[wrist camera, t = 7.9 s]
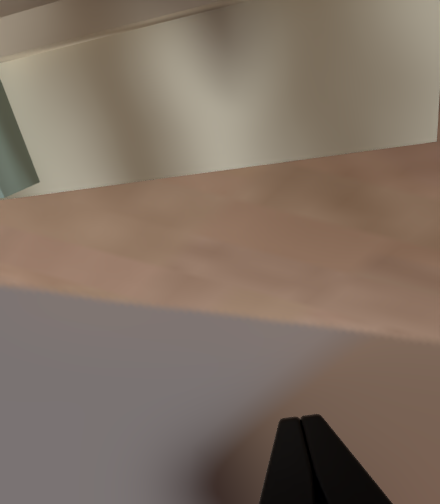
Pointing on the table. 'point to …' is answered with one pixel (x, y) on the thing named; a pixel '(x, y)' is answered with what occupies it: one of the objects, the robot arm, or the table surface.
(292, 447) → the robot arm
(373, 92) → the lever
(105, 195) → the table surface
